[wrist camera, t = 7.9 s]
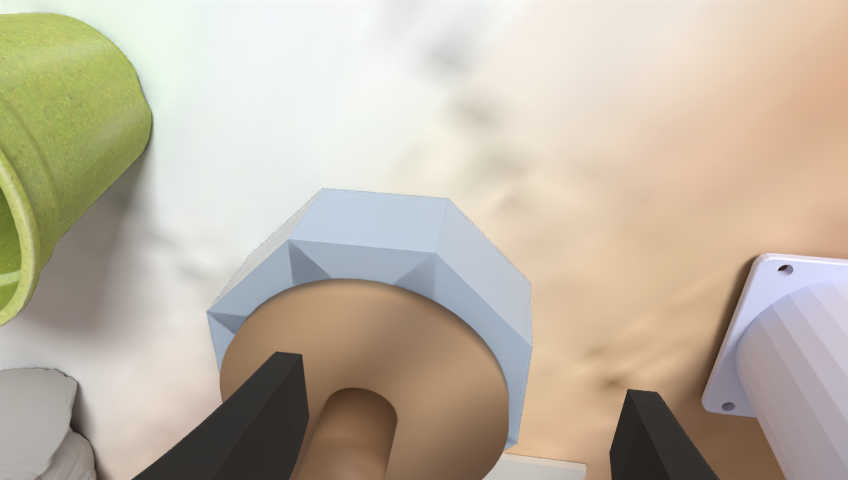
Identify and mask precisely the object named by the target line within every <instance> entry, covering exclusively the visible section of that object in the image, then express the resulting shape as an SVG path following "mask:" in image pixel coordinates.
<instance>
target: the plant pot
mask: <svg viewBox="0 0 848 480" xmlns="http://www.w3.org/2000/svg"><path fill="white" fill-rule="evenodd" d="M151 125H152V120H151V110H150V107H149V106H148V104H147V103H146V101H145V98H144V96H143V93H142V91H141V88H140V86H139V82H138V79H137V75H136V71H135V69H134V67H133V65H132V64H131V63H130V61H129V60H128V59H127V57H126V56H125V55H124V54H123V53H122V52H121V51H120V49H119V48H118V47H117V46H116V45H115V44H113V43H112V42H111V41H110V40H109V39H108V38H106V37H105V36H104V35H103V34H101V33H100V32H99V31H97V30H96V29H94V28H93V27H91V26H89V25H87V24H86V23H84V22H82V21H79V20H77V19H75V18H72V17H68V16H65V15H61V14H53V13H19V14H0V326H2V325H4V324H6V323H7V322H9V321H10V320H11V319H12V318H14V317H15V316H16V315H17V314H18V313H19V312H20V311H21V310H22V309H23V308H24V307H25V306H26V305H27V303H28V302H29V301H30V299H31V297H32V295H33V293H34V290H35V288H36V286H37V282H38V279H39V274H40V271H41V269H42V268H43V267H44V266H45V265H46V263H47V262H48V260H49V259H50V257H51V255H52V253H53V251H54V248H55V244H56V243H57V242H58V241H59V240H60V239H61V237H62V236H63V235H64V234H65V233H66V232H67V231H68V230H69V229H70V228H71V227H72V226H73V225H74V223H75V222H76V221H77V220H78V219H79V218H80V217H81V216H82V215H83V214H84V213H85V212H86V211H87V210H88V208H89V207H90V206H91V205H92V204H93V203H94V202H95V201H96V200H97V199H98V198H99V197H100V196H101V195H102V194H103V193H104V192H105V191H106V190H107V189H108V188H109V187H110V186H111V185H112V184H113V183H114V182H115V181H116V180H117V179H118V178H119V177H120V176H121V175H122V174H123V173H124V172H125V171H126V170H127V169H128V168H129V166H130V165H131V164H132V163H133V162H134V161H135V160H136V159H137V158H138V157H139V156H140V155H141V154H142V153H143V151H144V149H145V147H146V145H147V143H148V140H149V136H150V132H151Z"/></svg>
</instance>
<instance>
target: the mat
mask: <svg viewBox="0 0 848 480" xmlns="http://www.w3.org/2000/svg"><path fill="white" fill-rule="evenodd" d="M586 472H587V468H586V464H582V463H574V462H566V461H559V460H551V459H543V458H536V457H528V456H520V455H512V454H505V453H502V455H501V457H500V459H499V460H498V462H497V463H496V465H495V466H494V468H493V469H492V470H491V471H490V472H489V473H488V474H487V475H486V476H485V477H484V478H483V479H482V480H585V476H586Z"/></svg>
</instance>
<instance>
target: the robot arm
mask: <svg viewBox="0 0 848 480" xmlns="http://www.w3.org/2000/svg"><path fill="white" fill-rule="evenodd" d="M783 265H789V266H788V267H787V268H786V269H784V270H782V271H777V270H778V269H779V268H780V267H781V266H783ZM701 402H702V404H703V407H704V409H705V410H707V411H708V412H712V413H720V414H728V415H737V416H745V417H754V418H757V420H758V422H759V424H760V426H761V428H762V430H763V432H764V434H765V436H766V438H767V441H768V443H769V445H770V447H771V449H772V451H773V453H774V455H775V457H776V459H777V462H778V464H779V466H780V468H781V470H782V472H783V474H784V476H785V478H786V480H848V260H847V259H835V258H824V257H813V256H801V255H790V254H778V253H765V254H763V255H760V256H759V257H758V258H756V259H755V261H754V262H753V265H752V267H751V270H750V272H749V275H748V278H747V280H746V283H745V286H744V288H743V291H742V293H741V296H740V299H739V301H738V304H737V307H736V309H735V312H734V314H733V317H732V320H731V322H730V325H729V328H728V330H727V333H726V335H725V338H724V341H723V343H722V346H721V349H720V351H719V354H718V356H717V359H716V362H715V364H714V367H713V369H712V372H711V375H710V377H709V380H708V383H707V385H706V388H705V390H704V393H703V396H702V400H701ZM727 402H730V403H728V404H724V403H727ZM308 421H309V409H308V400H307V392H306V383H305V375H304V366H303V357H302V354H296V353H287V352H278V351H276V352H275V353H274V354H272V355H271V356H270V357H269V358H268V359H267V360H266V361H265V362H264V363H263V364H262V365H261V366H260V367H259V368H258V369H257V370H256V371H255V372H254V373H253V374H252V375H251V376H250V377H249V378H248V379H247V380H246V381H245V382H244V383H243V384H242V385H241V386H240V387H239V388H238V389H237V390H236V391H235V392H234V393H233V394H232V395H231V396H230V397H229V398H228V399H227V400H226V401H225V402H223V403H222V404H221V405H220V406H219V407H218V408H217V409H216V410H215V411H214V412H213V413H212V414H211V415H210V416H209V417H207V418H206V419H205V420H204V421H203V422H202V423H201V424H200V425H199V426H197V427H196V428H195V429H194V430H193V431H191V432H190V433H189V434H188V435H187V436H186V437H184V438H183V439H182V440H181V441H180V442H179V443H177V444H176V445H175V446H174V447H173V448H172V449H170V450H169V451H168V452H167V453H165V454H164V455H163V456H162V457H160V458H159V459H158V460H157V461H155V462H154V463H153V464H152V465H150V466H149V467H148V468H146V469H145V470H144V471H142V472H141V473H140V474H138V475H137V476H136V477H134V478H133V479H132V480H289V479H290V476H291V474H292V471H293V469H294V467H295V464H296V462H297V459H298V456H299V452H300V449H301V446H302V442H303V439H304V435H305V432H306V428H307V424H308ZM610 464H611V475H612V480H720V479H719V478H718V477H717V475H716V474H715V473H714V471H713V470H712V469H711V467H710V466H709V465H708V463H707V462H706V461H705V459H704V458H703V457H702V455H701V454H700V452H699V451H698V450H697V448H696V447H695V445H694V444H693V443H692V441H691V440H690V438H689V437H688V436H687V434H686V433H685V431H684V430H683V428H682V427H681V425H680V424H679V423H678V421H677V420H676V418H675V417H674V415H673V414H672V412H671V411H670V409H669V408H668V406H667V405H666V403H665V402H664V400H663V399H662V397H661V396H660V395H659V394H658V393H657V392H650V391H641V390H632V389H628V390H627V394H626V397H625V401H624V404H623V408H622V411H621V415H620V418H619V422H618V425H617V428H616V432H615V435H614V439H613V442H612V446H611V449H610Z"/></svg>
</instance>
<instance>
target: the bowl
mask: <svg viewBox="0 0 848 480" xmlns="http://www.w3.org/2000/svg"><path fill="white" fill-rule="evenodd" d="M336 278H345V279H364V280H371V281H379V282H383V283H387V284H391V285H395V286H399V287H402V288H405V289H408V290H411V291H413V292H416V293H419V294H421V295H423V296H425V297H427V298H429V299H431V300H433V301H436V302H438V303H439V304H441V305H442V306H444V307H446V308H447V309H449V310H450V311H452V312H454V313H455V314H456V315H458V316H459V317H460V318H461V319H463V320H464V321H465V322H466V323H468V324H469V325H470V326H471V327H472V328H473V329H474V330H475V331H476V332H477V333H478V334H479V335H480V336H481V337H482V338H483V339H484V341H485V342H486V343H487V345H488V346H489V347H490V349H491V350H492V351H493V353H494V354H495V356H496V358H497V360H498V362H499V364H500V365H501V367H502V370H503V373H504V376H505V379H506V382H507V387H508V393H509V432H508V437H507V441H506V445H505V448H504V450H506V449H508V448H510V447H512V446H514V445H516V444H517V441H518V435H519V428H520V422H521V416H522V409H523V403H524V397H525V390H526V384H527V378H528V372H529V365H530V359H531V353H532V348H533V346H532V321H531V296H530V282H529V281H528V280H527V279H526V278H525V277H524V276H523V275H522V274H521V273H520V272H519V271H518V270H517V269H516V268H515V267H514V266H513V265H512V264H511V263H510V262H509V261H508V260H507V259H506V258H505V257H504V256H503V255H502V254H501V253H500V252H499V250H498V249H497V248H496V247H495V246H494V245H493V244H492V243H491V242H490V241H489V240H488V239H487V238H486V237H485V236H484V235H483V234H482V233H481V232H480V231H479V230H478V229H477V228H476V227H475V226H474V225H473V224H472V223H471V222H470V221H469V220H468V218H467V217H466V216H465V215H464V214H463V213H462V212H461V211H460V210H459V209H458V208H457V207H456V206H455V205H454V204H453V203H452V202H451V201H450V200H449V199H446V198H434V197H422V196H409V195H397V194H385V193H373V192H361V191H349V190H337V189H324V188H322V190H321V191H319V192H318V193H317V194H316V195H315V196H314V197H313V198H312V199H311V200H310V201H309V202H307V203H306V204H305V205H304V206H303V207H302V208H301V209H300V210H299V211H298V212H297V213H295V214H294V215H293V216H292V217H291V218H290V219H289V220H288V221H287V222H286V223H285V224H283V225H282V226H281V227H280V228H279V229H278V230H277V231H276V232H275V233H274V234H273V235H271V236H270V237H269V238H268V239H267V240H266V241H265V242H264V243H263V244H262V245H261V246H259V247H258V248H257V249H256V250H255V251H254V252H253V253H252V254H251V255H249V257H248V258H247V259H246V261H245V262H244V263H243V264H242V266H241V267H240V268H239V270H238V271H237V272H236V274H235V275H234V276H233V277H232V279H231V280H230V281H229V283H228V284H227V285H226V287H225V288H224V289H223V290H222V292H221V293H220V294H219V296H218V297H217V298H216V300H215V301H214V302H213V304H212V305H211V306H210V307H209V309H208V310H207V311H206V313H207V317H208V322H209V326H210V331H211V336H212V340H213V345H214V349H215V354H216V359H217V363H218V368H219V372H220V370H221V365H222V360H223V357H224V355H225V352H226V350H227V347H228V346H229V344H230V343H231V341H232V340H233V338H234V337H235V335H236V333H237V332H238V330H239V329H240V327H241V326H242V324H243V323H244V321H245V320H246V318H247V317H248V316H249V315H250V314H251V313H252V312H253V311H254V310H255V309H256V308H257V307H258V306H259V305H260V304H262V303H263V302H264V301H266V300H267V299H268V298H270V297H272V296H274V295H276V294H277V293H279V292H281V291H283V290H285V289H288V288H291V287H294V286H296V285H299V284H303V283H308V282H312V281H317V280H326V279H336Z"/></svg>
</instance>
